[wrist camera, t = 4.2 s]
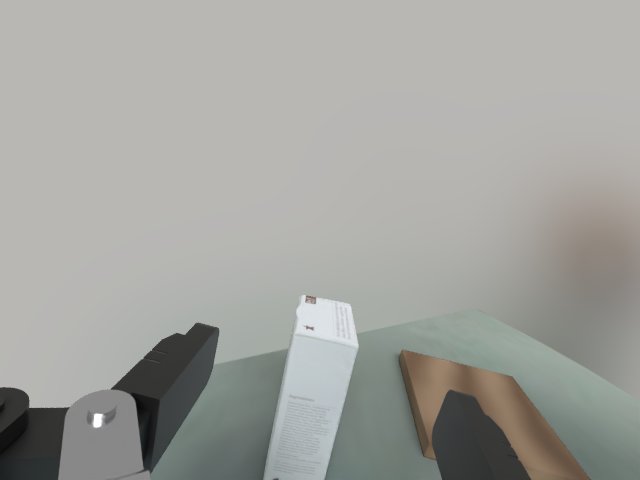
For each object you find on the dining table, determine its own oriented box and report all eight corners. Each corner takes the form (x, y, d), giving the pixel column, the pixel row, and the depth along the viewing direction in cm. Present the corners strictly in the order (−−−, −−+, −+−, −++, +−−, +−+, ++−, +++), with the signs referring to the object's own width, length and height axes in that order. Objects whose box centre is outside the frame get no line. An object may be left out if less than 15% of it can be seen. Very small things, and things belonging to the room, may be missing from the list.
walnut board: (507, 386, 41) (512, 376, 41) (586, 497, 28) (594, 484, 27) (398, 359, 42) (402, 349, 41) (423, 456, 28) (429, 442, 28)
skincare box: (321, 501, 22) (366, 349, 19) (256, 490, 22) (292, 333, 19) (321, 429, 28) (356, 303, 25) (270, 419, 28) (299, 291, 25)
